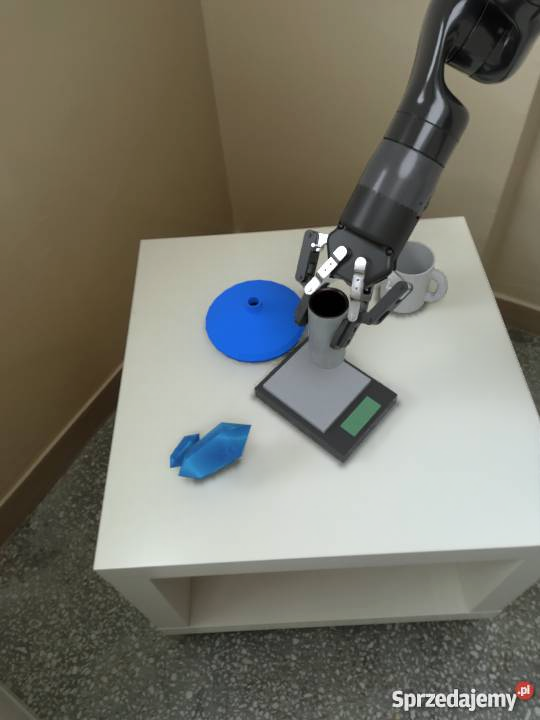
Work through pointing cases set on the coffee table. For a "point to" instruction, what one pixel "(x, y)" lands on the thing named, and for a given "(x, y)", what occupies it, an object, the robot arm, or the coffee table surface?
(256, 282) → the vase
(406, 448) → the coffee table surface
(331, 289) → the grey cylindrical tube
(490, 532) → the coffee table surface
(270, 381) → the scale
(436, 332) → the coffee table surface
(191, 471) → the crystal
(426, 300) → the cup
